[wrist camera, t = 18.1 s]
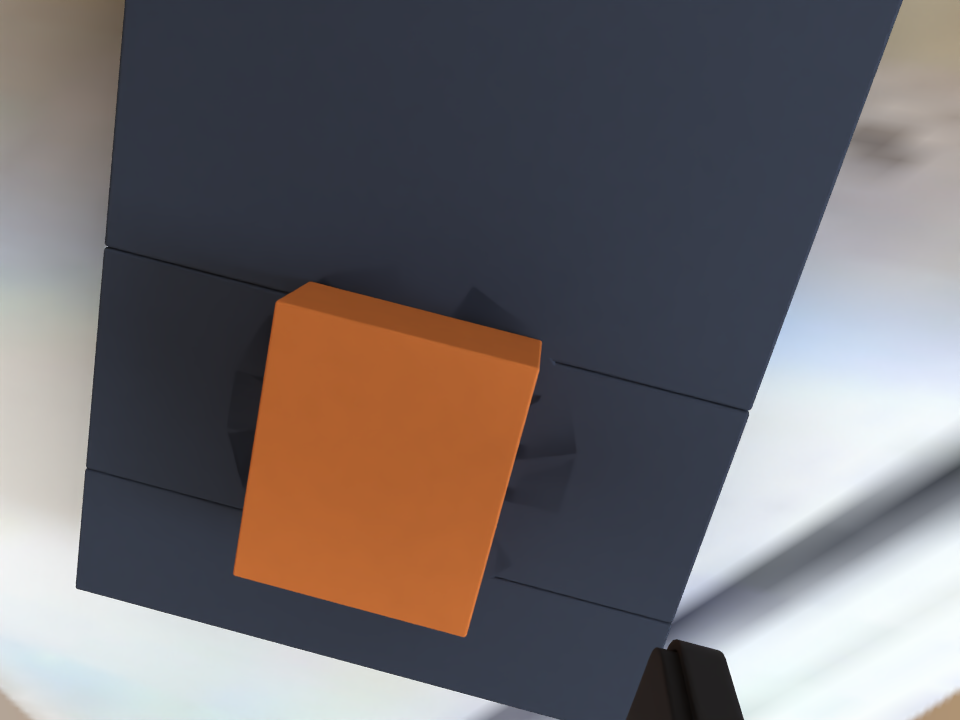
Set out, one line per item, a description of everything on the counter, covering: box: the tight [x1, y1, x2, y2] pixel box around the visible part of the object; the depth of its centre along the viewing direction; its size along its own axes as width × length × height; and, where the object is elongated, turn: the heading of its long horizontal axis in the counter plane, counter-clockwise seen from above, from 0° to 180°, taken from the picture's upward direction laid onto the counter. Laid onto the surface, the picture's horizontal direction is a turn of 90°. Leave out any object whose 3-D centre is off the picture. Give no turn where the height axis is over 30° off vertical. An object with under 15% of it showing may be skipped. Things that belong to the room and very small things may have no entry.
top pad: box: [233, 282, 542, 637], centre depth 17 cm, size 6×5×4 cm
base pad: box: [76, 0, 903, 720], centre depth 17 cm, size 18×14×2 cm
